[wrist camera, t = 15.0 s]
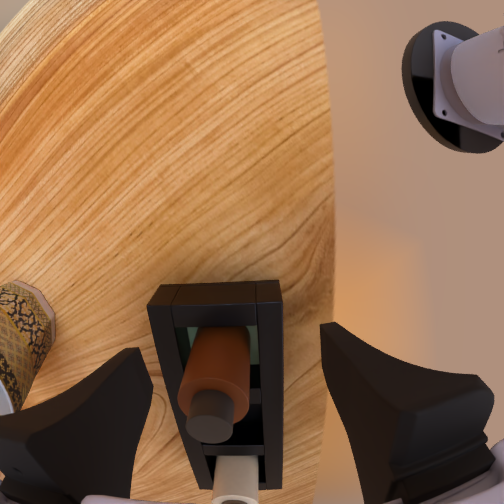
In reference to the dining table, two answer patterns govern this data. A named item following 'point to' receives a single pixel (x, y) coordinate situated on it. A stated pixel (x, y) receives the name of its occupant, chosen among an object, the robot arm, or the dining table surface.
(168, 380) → the holder
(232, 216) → the dining table surface
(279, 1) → the dining table surface
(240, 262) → the dining table surface
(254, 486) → the cream bottle
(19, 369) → the ceramic cup
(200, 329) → the spice bottle
